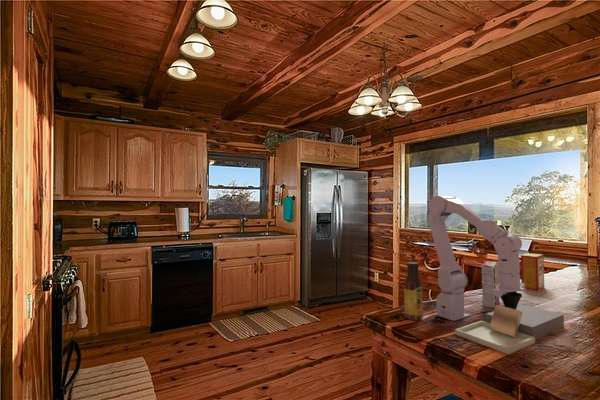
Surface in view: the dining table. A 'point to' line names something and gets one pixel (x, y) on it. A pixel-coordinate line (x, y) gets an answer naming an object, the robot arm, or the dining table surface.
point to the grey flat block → (536, 321)
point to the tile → (506, 320)
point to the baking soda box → (532, 271)
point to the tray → (494, 337)
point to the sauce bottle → (413, 293)
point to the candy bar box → (489, 283)
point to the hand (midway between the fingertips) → (510, 315)
